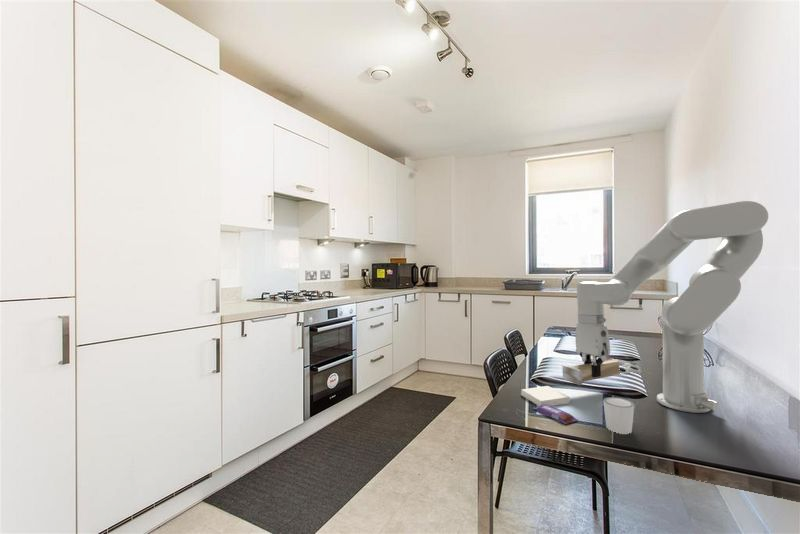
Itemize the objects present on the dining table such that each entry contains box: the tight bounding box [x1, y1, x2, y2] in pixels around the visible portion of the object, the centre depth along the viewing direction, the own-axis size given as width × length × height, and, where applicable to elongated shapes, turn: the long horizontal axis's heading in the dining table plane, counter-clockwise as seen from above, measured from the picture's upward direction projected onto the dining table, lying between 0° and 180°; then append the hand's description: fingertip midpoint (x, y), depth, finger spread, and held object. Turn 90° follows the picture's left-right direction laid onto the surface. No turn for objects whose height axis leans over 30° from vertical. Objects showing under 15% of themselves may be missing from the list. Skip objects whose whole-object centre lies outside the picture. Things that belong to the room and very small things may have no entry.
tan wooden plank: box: [561, 358, 621, 386], centre depth 119 cm, size 7×19×4 cm, turn 108°
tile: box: [520, 385, 571, 407], centre depth 113 cm, size 10×2×10 cm
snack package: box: [532, 405, 579, 425], centre depth 102 cm, size 12×2×5 cm
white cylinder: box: [602, 396, 635, 435], centre depth 93 cm, size 7×7×7 cm
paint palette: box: [591, 358, 642, 374], centre depth 143 cm, size 20×20×2 cm
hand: (592, 374), depth 119 cm, fingers closed on tan wooden plank, 2 cm apart
